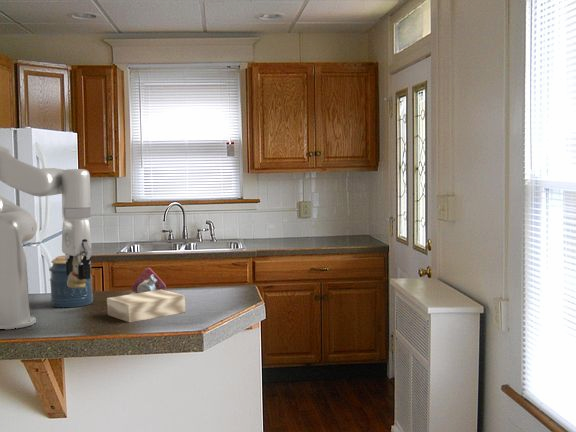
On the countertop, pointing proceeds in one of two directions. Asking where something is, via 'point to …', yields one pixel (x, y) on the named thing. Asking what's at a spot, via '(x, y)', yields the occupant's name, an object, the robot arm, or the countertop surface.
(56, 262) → the canister
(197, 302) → the countertop surface
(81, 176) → the robot arm
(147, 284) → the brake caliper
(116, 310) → the birch riser
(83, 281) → the chocolate bunny
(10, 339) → the countertop surface
